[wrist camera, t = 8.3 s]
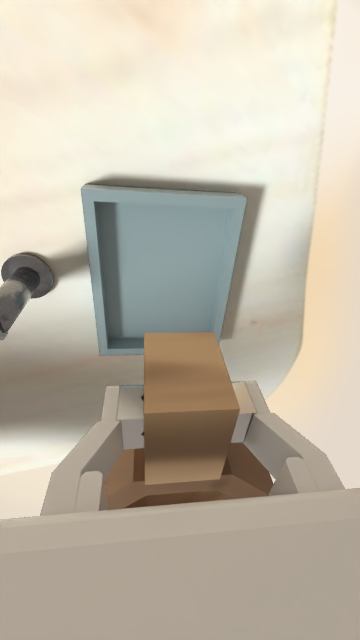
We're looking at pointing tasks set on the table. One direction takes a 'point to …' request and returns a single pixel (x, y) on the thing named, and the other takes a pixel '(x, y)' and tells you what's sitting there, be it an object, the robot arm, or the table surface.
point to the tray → (159, 261)
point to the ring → (186, 431)
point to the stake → (21, 286)
